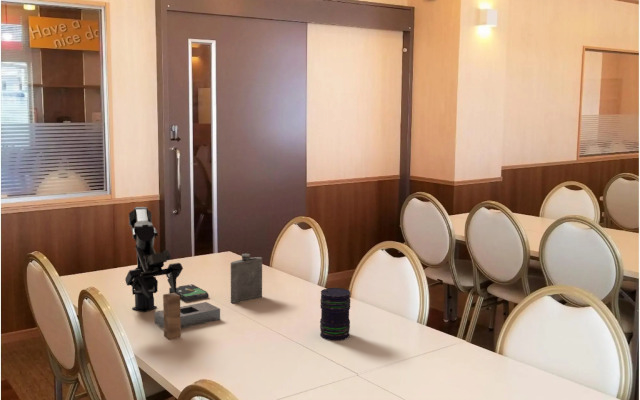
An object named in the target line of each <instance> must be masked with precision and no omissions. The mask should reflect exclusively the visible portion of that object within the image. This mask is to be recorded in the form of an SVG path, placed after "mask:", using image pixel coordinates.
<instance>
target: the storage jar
mask: <svg viewBox="0 0 640 400" xmlns="http://www.w3.org/2000/svg"><path fill="white" fill-rule="evenodd" d="M319 302H320V310H321V311H320V313H321V315H320V316H321V318H320V321H319V323H320V325H319V329H320V334H319V336H320V337H321V338H322V339H323V340H327V341H331V342H333V341H334V342H338V341H345V340H348V339H349V338H350V330H351V329H350V328H351V325H350V324H351V320H350V310H351V291H350V290H348V289H347V288H341V287H329V288H324V289H321V291H320V301H319Z"/></svg>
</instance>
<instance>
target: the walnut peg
mask: <svg viewBox="0 0 640 400" xmlns="http://www.w3.org/2000/svg"><path fill="white" fill-rule="evenodd" d="M162 300H163V301H162V302H163V303H162V305H163V310H162V311H163V312H164V328H163V337H165V338H166V339H168V340H174V339H177V338H181V337H182V334H181V333H182V331H181V330H182V328H181V318H180V307H181V300H180V295H178V294H176V293H166V294H165V293H164V294H163V295H162Z"/></svg>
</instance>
